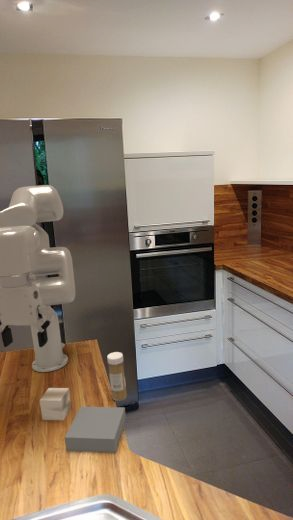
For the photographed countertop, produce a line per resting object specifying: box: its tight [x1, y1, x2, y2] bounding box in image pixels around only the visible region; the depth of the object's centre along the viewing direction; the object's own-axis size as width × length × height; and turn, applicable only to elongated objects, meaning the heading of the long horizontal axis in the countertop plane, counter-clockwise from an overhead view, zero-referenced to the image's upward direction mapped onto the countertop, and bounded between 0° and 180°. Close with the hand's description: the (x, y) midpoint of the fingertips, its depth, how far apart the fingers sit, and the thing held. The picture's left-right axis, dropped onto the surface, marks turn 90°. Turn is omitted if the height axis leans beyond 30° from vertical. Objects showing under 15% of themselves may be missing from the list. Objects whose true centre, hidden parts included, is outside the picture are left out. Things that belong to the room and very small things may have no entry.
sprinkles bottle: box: [106, 351, 128, 402], centre depth 103 cm, size 5×5×14 cm
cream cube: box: [39, 387, 72, 421], centre depth 98 cm, size 6×6×6 cm
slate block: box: [64, 406, 127, 454], centre depth 89 cm, size 12×12×4 cm
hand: (25, 344), depth 91 cm, fingers open, 9 cm apart
